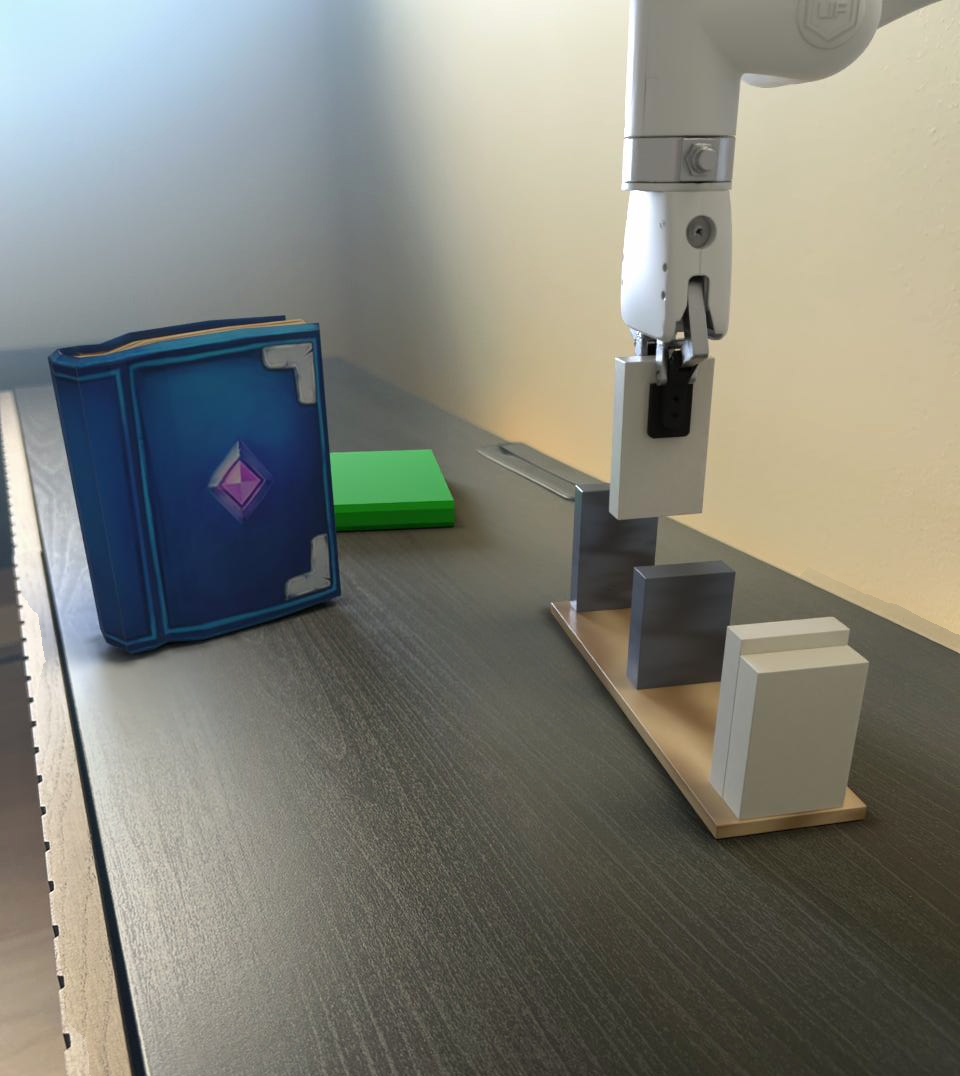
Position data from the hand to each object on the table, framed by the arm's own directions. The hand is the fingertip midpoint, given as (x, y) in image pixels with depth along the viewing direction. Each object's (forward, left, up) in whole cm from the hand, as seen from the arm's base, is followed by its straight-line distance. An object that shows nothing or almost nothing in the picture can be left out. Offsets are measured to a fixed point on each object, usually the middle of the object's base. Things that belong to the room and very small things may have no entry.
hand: (660, 429), depth 81 cm
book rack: (0, +9, -18) cm, 20 cm away
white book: (0, 0, -7) cm, 7 cm away
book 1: (+34, -13, -19) cm, 41 cm away
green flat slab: (+22, -46, -19) cm, 55 cm away
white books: (0, +24, -18) cm, 30 cm away
